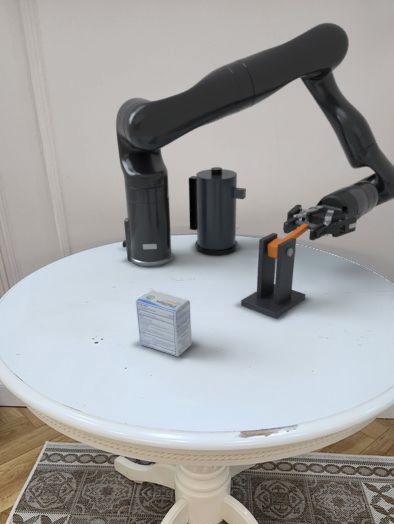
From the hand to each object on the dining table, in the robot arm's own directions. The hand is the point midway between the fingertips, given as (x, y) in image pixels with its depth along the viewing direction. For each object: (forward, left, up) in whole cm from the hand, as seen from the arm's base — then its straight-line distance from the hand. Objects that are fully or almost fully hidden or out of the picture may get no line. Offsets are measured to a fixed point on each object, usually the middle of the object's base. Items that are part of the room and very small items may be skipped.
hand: (298, 231), depth 100 cm
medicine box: (-14, -29, -12) cm, 34 cm away
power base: (-2, -7, -12) cm, 14 cm away
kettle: (-23, +15, -12) cm, 30 cm away
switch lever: (-1, -2, -2) cm, 3 cm away
